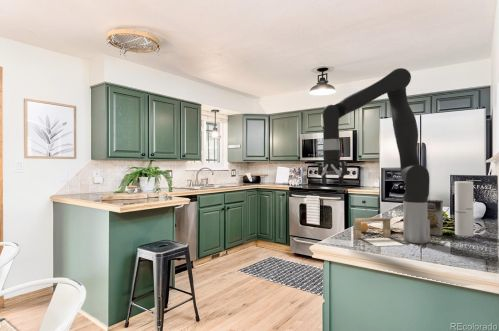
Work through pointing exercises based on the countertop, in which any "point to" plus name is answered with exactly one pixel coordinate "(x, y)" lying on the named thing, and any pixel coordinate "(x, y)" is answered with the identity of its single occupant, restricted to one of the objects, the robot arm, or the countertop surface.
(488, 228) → the countertop surface
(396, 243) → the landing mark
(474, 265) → the countertop surface
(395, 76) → the robot arm
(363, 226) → the ball
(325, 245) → the countertop surface
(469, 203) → the cylindrical container
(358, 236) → the bridge
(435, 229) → the coffee box
